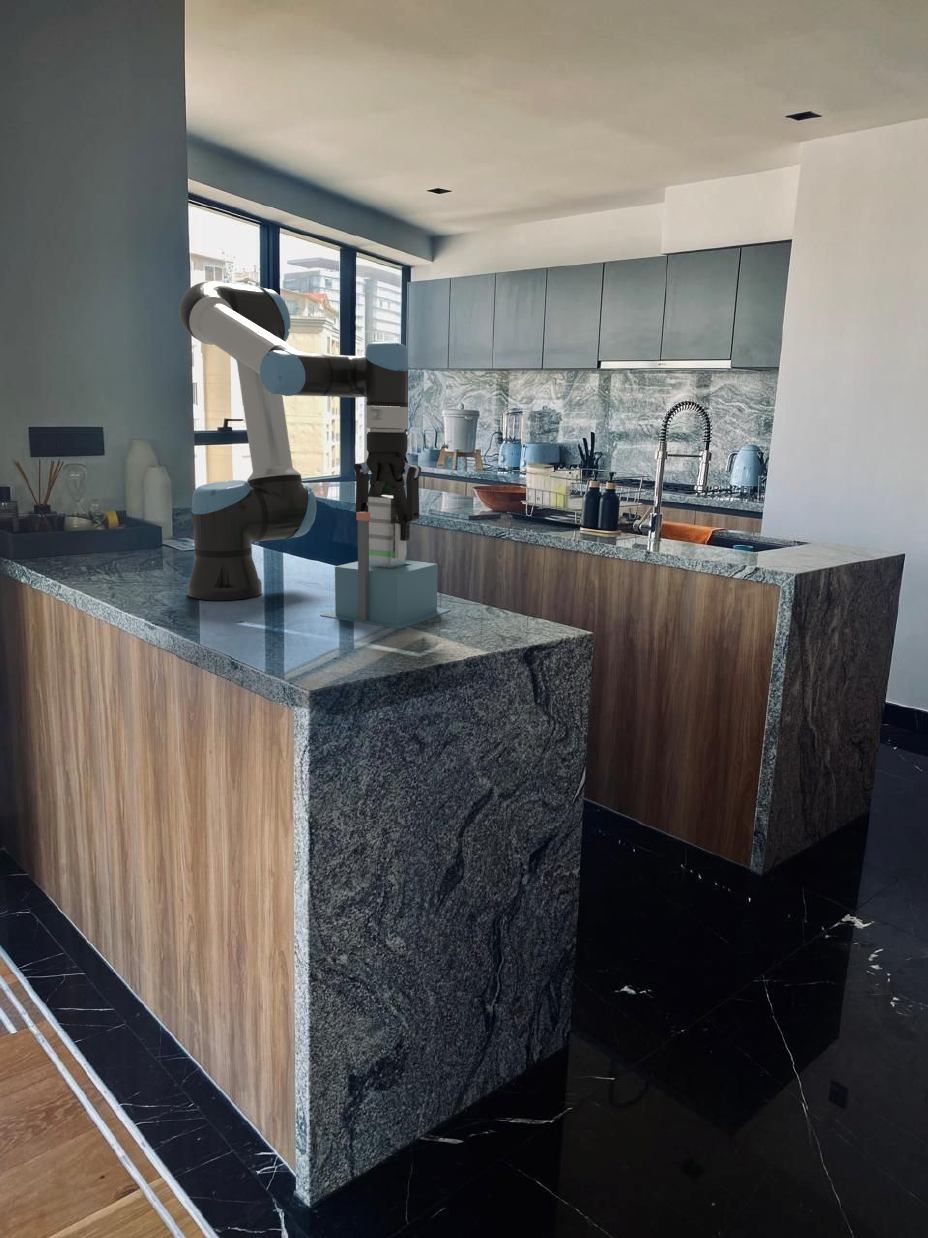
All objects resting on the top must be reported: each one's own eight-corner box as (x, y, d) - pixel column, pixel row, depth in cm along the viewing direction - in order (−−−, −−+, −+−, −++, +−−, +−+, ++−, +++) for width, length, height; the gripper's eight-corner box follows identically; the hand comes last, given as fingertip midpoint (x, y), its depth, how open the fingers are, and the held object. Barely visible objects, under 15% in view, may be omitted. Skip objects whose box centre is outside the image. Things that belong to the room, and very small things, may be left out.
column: (367, 612, 168) (366, 496, 162) (383, 607, 172) (383, 494, 167) (390, 616, 165) (391, 498, 160) (406, 610, 170) (407, 496, 164)
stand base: (320, 619, 165) (318, 509, 161) (375, 602, 181) (375, 501, 176) (400, 632, 157) (400, 516, 152) (450, 613, 172) (452, 508, 167)
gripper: (334, 429, 162) (335, 553, 167) (418, 432, 153) (417, 563, 159) (358, 429, 168) (359, 549, 174) (440, 432, 160) (438, 558, 165)
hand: (387, 555), depth 166 cm, fingers closed on column, 5 cm apart
